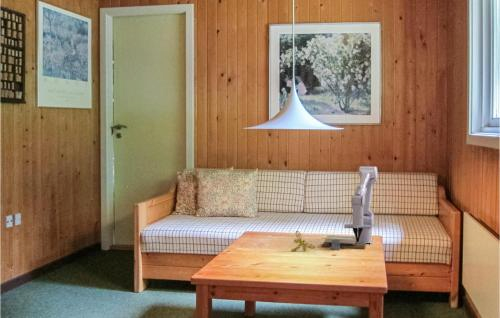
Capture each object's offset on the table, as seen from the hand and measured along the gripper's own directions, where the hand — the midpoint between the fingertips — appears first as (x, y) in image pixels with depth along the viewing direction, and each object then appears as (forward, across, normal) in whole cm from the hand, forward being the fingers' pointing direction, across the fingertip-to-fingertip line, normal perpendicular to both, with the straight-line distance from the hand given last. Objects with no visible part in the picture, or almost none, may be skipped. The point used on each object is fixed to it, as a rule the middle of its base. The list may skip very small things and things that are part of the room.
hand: (357, 241), depth 299 cm
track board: (+3, -7, 0) cm, 8 cm away
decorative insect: (+3, -27, -20) cm, 34 cm away
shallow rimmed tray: (+1, -9, 0) cm, 9 cm away
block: (+3, -11, -10) cm, 15 cm away
